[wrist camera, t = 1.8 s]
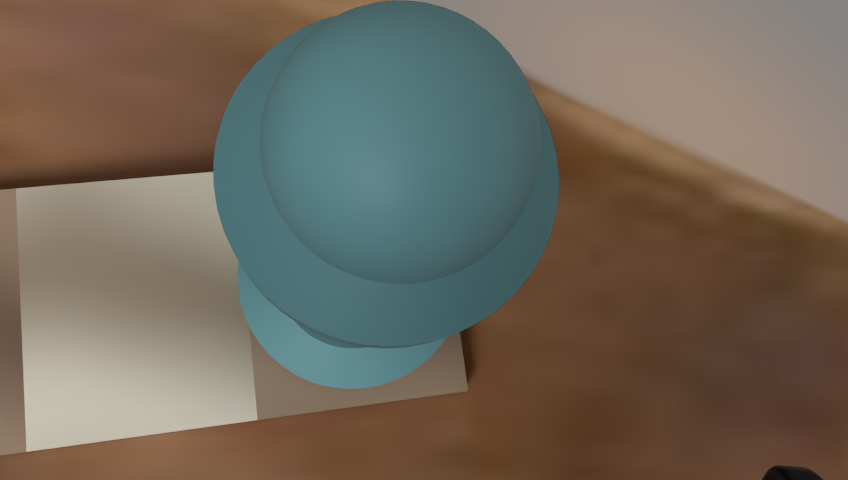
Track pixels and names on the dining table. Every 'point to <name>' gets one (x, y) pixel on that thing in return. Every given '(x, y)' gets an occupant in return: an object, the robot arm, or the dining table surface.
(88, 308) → the board
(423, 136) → the pawn
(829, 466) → the dining table surface
